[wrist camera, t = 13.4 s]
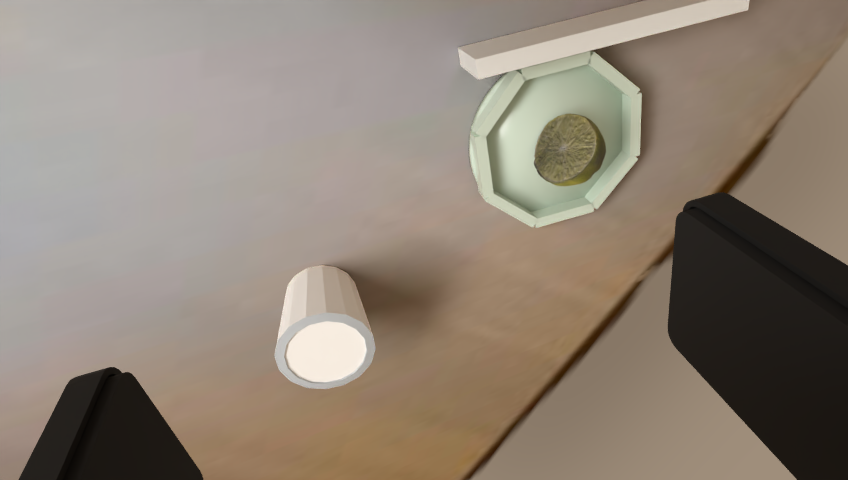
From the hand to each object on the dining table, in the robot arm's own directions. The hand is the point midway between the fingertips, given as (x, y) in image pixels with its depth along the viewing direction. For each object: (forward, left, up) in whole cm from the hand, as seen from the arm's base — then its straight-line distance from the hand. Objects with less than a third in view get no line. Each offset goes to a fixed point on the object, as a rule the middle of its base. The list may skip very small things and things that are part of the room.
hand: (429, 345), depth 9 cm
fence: (+3, +17, -28) cm, 33 cm away
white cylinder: (+18, -6, -28) cm, 34 cm away
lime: (+10, +14, -28) cm, 33 cm away
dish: (+10, +14, -28) cm, 33 cm away
